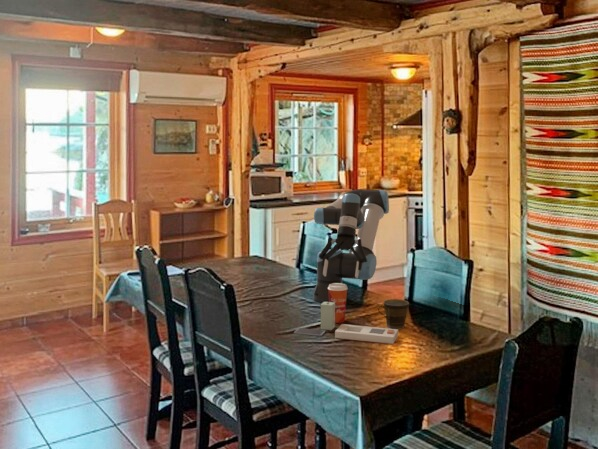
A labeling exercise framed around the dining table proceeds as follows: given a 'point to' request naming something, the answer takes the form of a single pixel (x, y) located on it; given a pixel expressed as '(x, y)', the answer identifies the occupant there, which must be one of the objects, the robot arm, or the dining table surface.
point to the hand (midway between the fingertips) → (340, 276)
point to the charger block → (327, 315)
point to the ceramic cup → (395, 313)
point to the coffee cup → (338, 300)
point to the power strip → (366, 333)
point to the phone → (309, 331)
